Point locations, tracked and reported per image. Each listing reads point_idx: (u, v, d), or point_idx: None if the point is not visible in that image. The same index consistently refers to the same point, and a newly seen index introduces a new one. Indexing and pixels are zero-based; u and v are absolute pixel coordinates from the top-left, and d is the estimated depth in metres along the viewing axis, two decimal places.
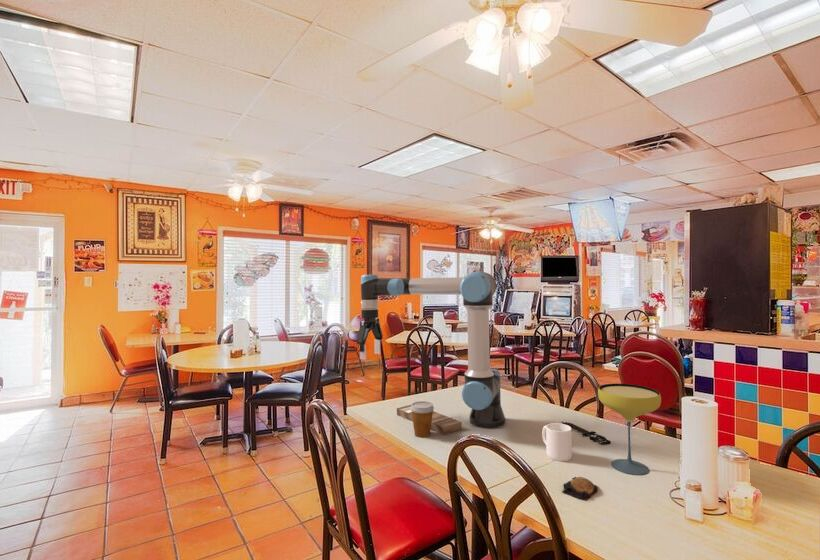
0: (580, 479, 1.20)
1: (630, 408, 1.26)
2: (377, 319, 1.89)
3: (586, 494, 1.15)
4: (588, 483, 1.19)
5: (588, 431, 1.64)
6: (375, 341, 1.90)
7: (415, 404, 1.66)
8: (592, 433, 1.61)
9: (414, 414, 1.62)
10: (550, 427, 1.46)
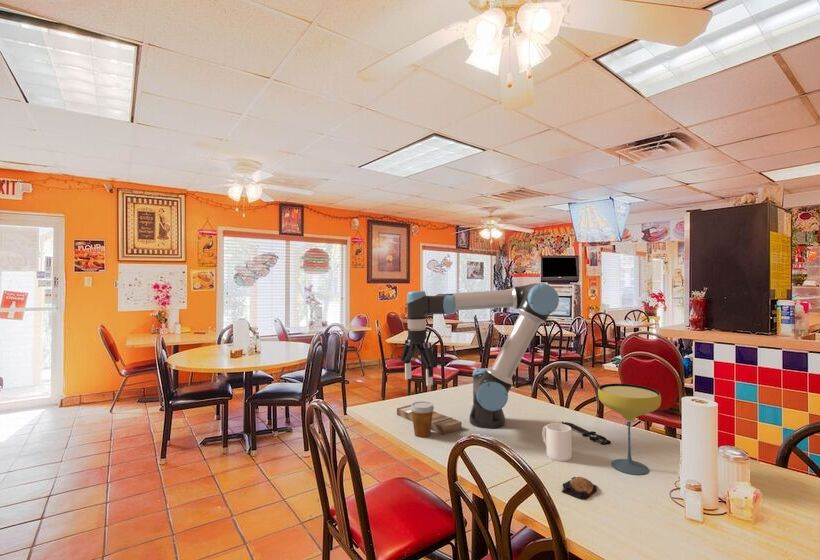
0: (579, 479, 1.20)
1: (630, 408, 1.26)
2: (424, 343, 1.61)
3: (585, 494, 1.16)
4: (587, 483, 1.19)
5: (588, 431, 1.64)
6: None
7: (415, 404, 1.66)
8: (592, 433, 1.61)
9: (414, 414, 1.62)
10: (550, 427, 1.46)
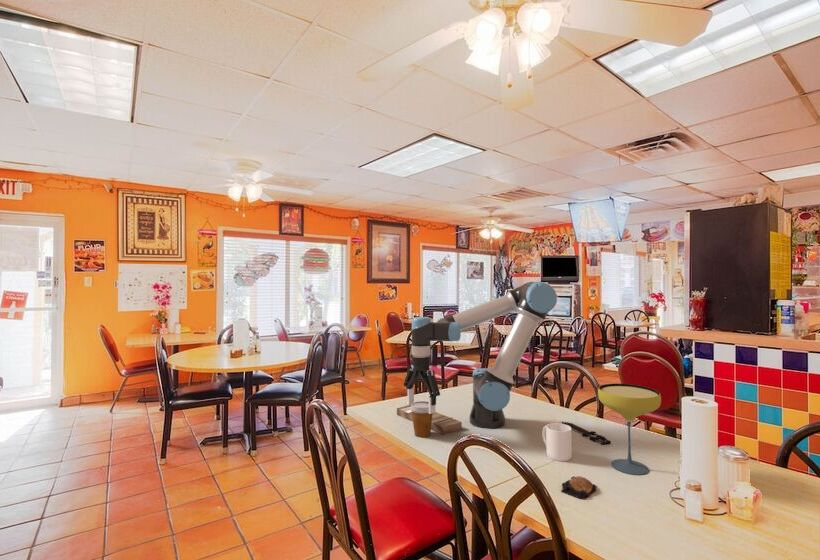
0: (579, 478, 1.21)
1: (630, 408, 1.26)
2: (428, 371, 1.60)
3: (585, 493, 1.16)
4: (587, 482, 1.19)
5: (588, 431, 1.64)
6: None
7: (415, 404, 1.66)
8: (592, 433, 1.61)
9: (414, 414, 1.62)
10: (550, 427, 1.46)
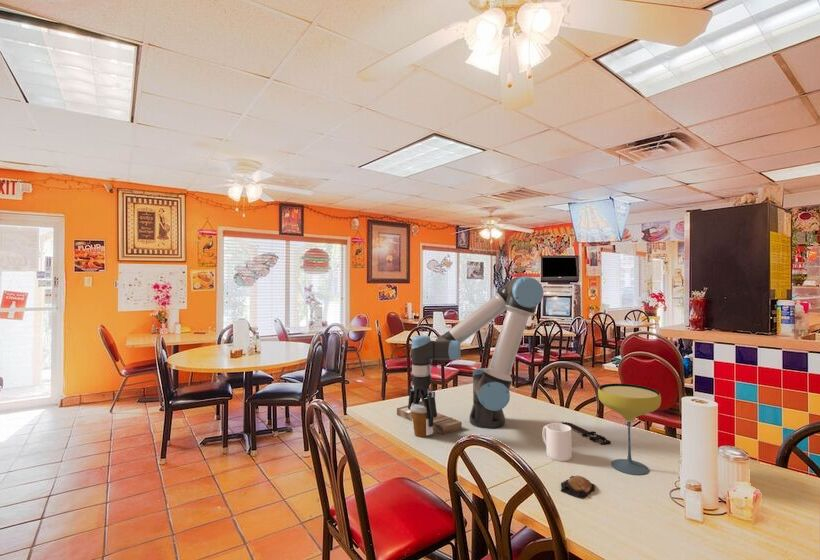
0: (577, 478, 1.21)
1: (630, 408, 1.26)
2: (429, 392, 1.60)
3: (583, 492, 1.16)
4: (585, 482, 1.20)
5: (588, 431, 1.64)
6: None
7: (415, 404, 1.66)
8: (592, 433, 1.61)
9: (414, 414, 1.62)
10: (550, 427, 1.46)
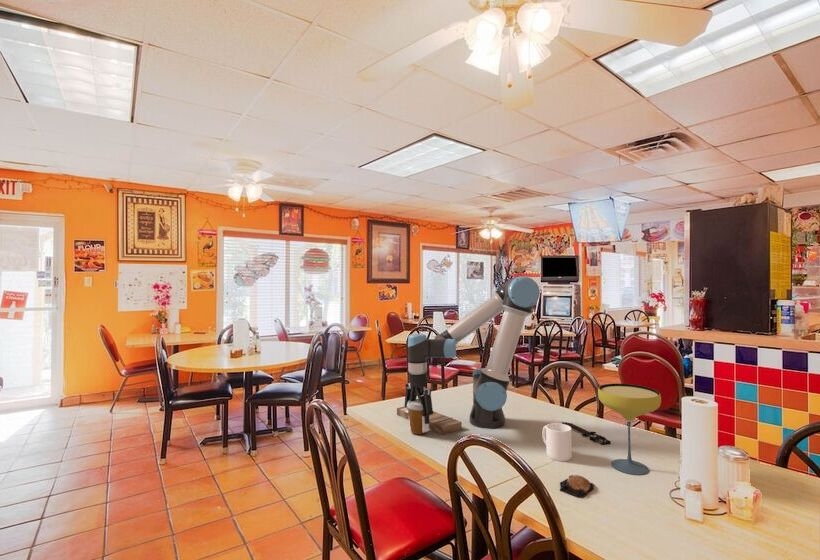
0: (576, 477, 1.21)
1: (630, 408, 1.26)
2: (425, 390, 1.62)
3: (582, 492, 1.17)
4: (584, 481, 1.20)
5: (588, 431, 1.64)
6: None
7: (411, 401, 1.68)
8: (592, 433, 1.61)
9: (410, 411, 1.64)
10: (550, 427, 1.46)
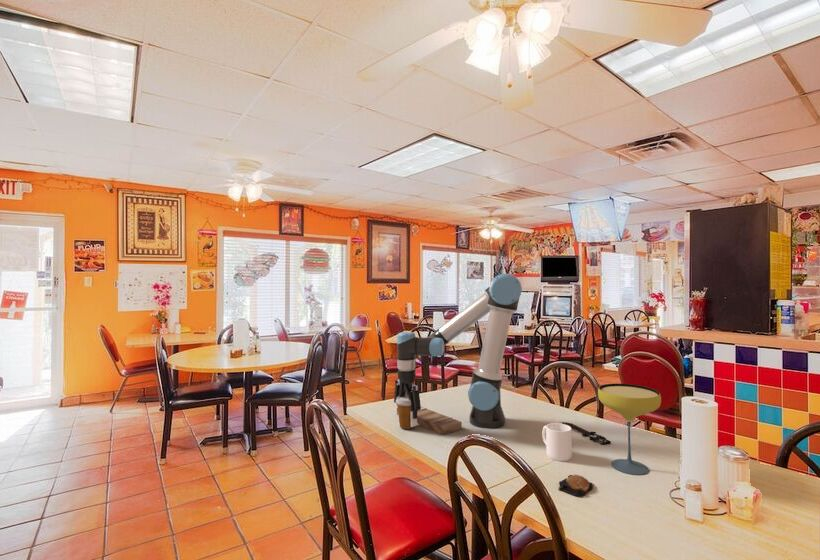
0: (576, 477, 1.22)
1: (630, 408, 1.26)
2: (413, 386, 1.68)
3: (581, 491, 1.17)
4: (583, 480, 1.20)
5: (588, 431, 1.64)
6: None
7: (400, 397, 1.74)
8: (592, 433, 1.61)
9: (399, 407, 1.70)
10: (550, 427, 1.46)
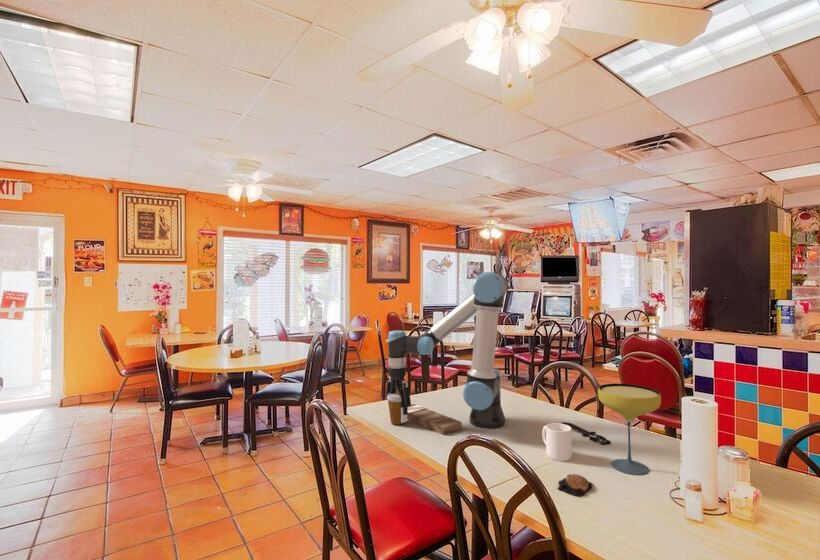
0: (575, 476, 1.22)
1: (630, 408, 1.26)
2: (403, 383, 1.73)
3: (581, 491, 1.17)
4: (583, 480, 1.20)
5: (588, 431, 1.64)
6: None
7: (391, 394, 1.79)
8: (592, 433, 1.61)
9: (390, 403, 1.75)
10: (550, 427, 1.46)
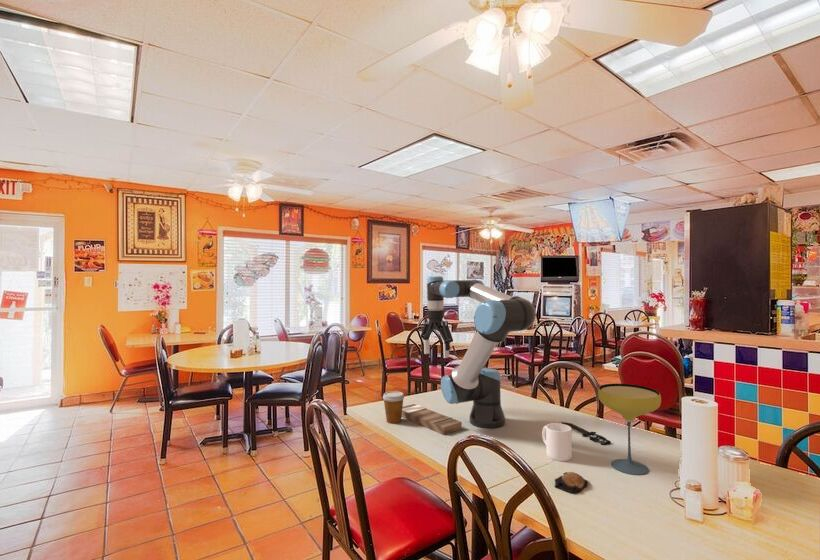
0: (571, 474, 1.23)
1: (630, 408, 1.26)
2: None
3: (577, 488, 1.19)
4: (579, 478, 1.22)
5: (587, 431, 1.64)
6: None
7: (387, 393, 1.82)
8: (592, 433, 1.61)
9: (386, 402, 1.78)
10: (550, 427, 1.46)
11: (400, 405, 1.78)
